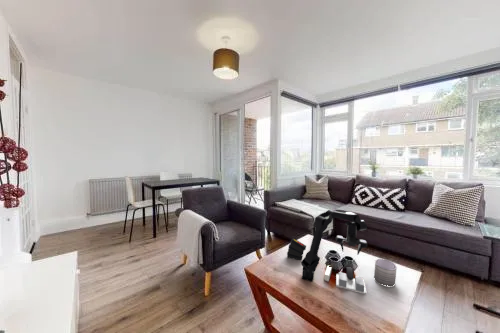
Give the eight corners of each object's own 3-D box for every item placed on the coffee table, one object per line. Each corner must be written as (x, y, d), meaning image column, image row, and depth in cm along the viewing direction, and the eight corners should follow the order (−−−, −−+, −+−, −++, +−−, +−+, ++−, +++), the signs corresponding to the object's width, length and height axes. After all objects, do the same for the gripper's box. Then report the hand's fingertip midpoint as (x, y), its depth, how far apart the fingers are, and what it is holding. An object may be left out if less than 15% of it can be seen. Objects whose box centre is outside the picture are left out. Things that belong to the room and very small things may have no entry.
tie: (327, 270, 138) (327, 265, 138) (331, 272, 137) (331, 266, 136) (324, 280, 127) (324, 274, 127) (328, 281, 126) (329, 275, 126)
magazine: (283, 252, 157) (292, 237, 154) (298, 263, 154) (308, 247, 151) (282, 255, 153) (292, 239, 150) (298, 265, 150) (308, 249, 147)
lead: (353, 280, 126) (353, 275, 126) (347, 278, 127) (347, 273, 127) (351, 266, 141) (352, 261, 141) (346, 265, 143) (346, 260, 143)
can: (398, 284, 126) (400, 265, 125) (389, 289, 120) (390, 270, 120) (379, 274, 136) (381, 257, 135) (369, 278, 130) (371, 261, 129)
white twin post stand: (336, 286, 122) (336, 278, 121) (336, 275, 133) (336, 268, 132) (366, 294, 116) (367, 286, 115) (363, 282, 127) (364, 274, 126)
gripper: (337, 232, 134) (335, 255, 135) (369, 238, 127) (367, 262, 128) (337, 227, 144) (335, 248, 145) (366, 232, 137) (365, 254, 138)
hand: (350, 253), depth 139 cm, fingers open, 9 cm apart
